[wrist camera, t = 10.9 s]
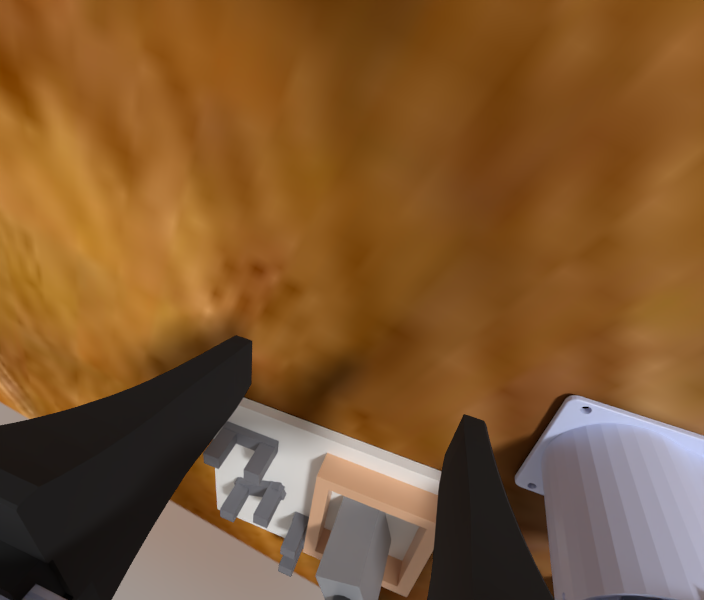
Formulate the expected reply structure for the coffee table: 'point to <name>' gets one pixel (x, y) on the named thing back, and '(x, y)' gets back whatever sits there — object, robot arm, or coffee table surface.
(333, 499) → the board
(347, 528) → the block
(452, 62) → the coffee table surface
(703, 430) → the coffee table surface
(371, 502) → the frame
